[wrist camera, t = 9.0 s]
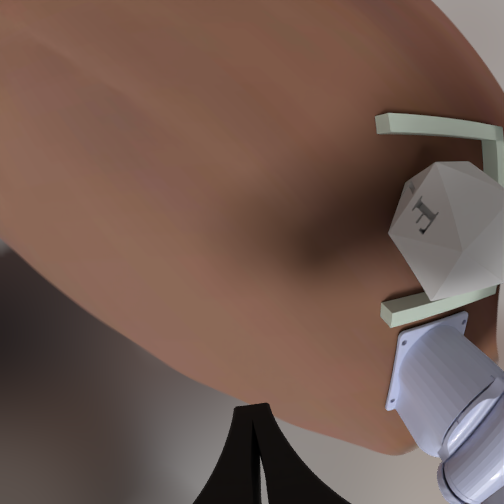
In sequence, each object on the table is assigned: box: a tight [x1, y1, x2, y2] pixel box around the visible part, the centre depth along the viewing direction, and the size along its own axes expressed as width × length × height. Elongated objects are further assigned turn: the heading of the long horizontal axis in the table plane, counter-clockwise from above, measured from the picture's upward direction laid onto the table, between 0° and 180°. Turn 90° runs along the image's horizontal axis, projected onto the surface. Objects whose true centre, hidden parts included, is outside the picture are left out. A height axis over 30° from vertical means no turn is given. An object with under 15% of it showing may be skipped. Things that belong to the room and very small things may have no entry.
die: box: [388, 161, 504, 301], centre depth 15 cm, size 8×9×10 cm
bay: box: [375, 113, 504, 328], centre depth 18 cm, size 14×12×2 cm
